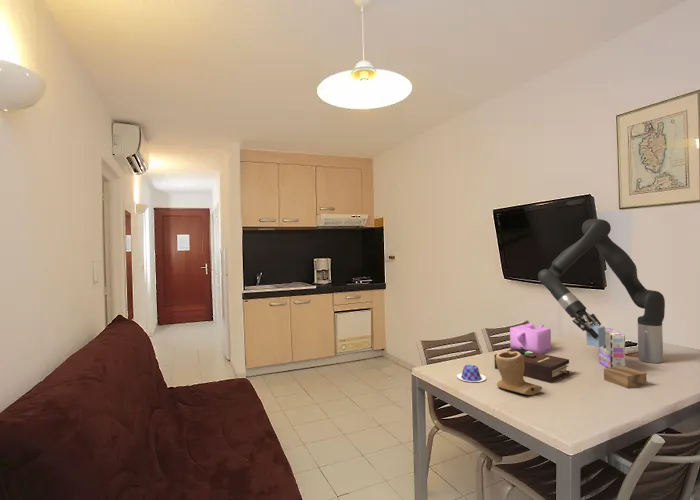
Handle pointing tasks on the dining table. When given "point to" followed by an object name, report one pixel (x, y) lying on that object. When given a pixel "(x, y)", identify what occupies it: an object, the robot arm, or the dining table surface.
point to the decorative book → (542, 366)
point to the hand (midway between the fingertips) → (600, 336)
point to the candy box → (612, 349)
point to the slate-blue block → (600, 339)
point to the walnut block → (625, 376)
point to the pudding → (471, 374)
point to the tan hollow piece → (514, 373)
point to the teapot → (531, 338)
